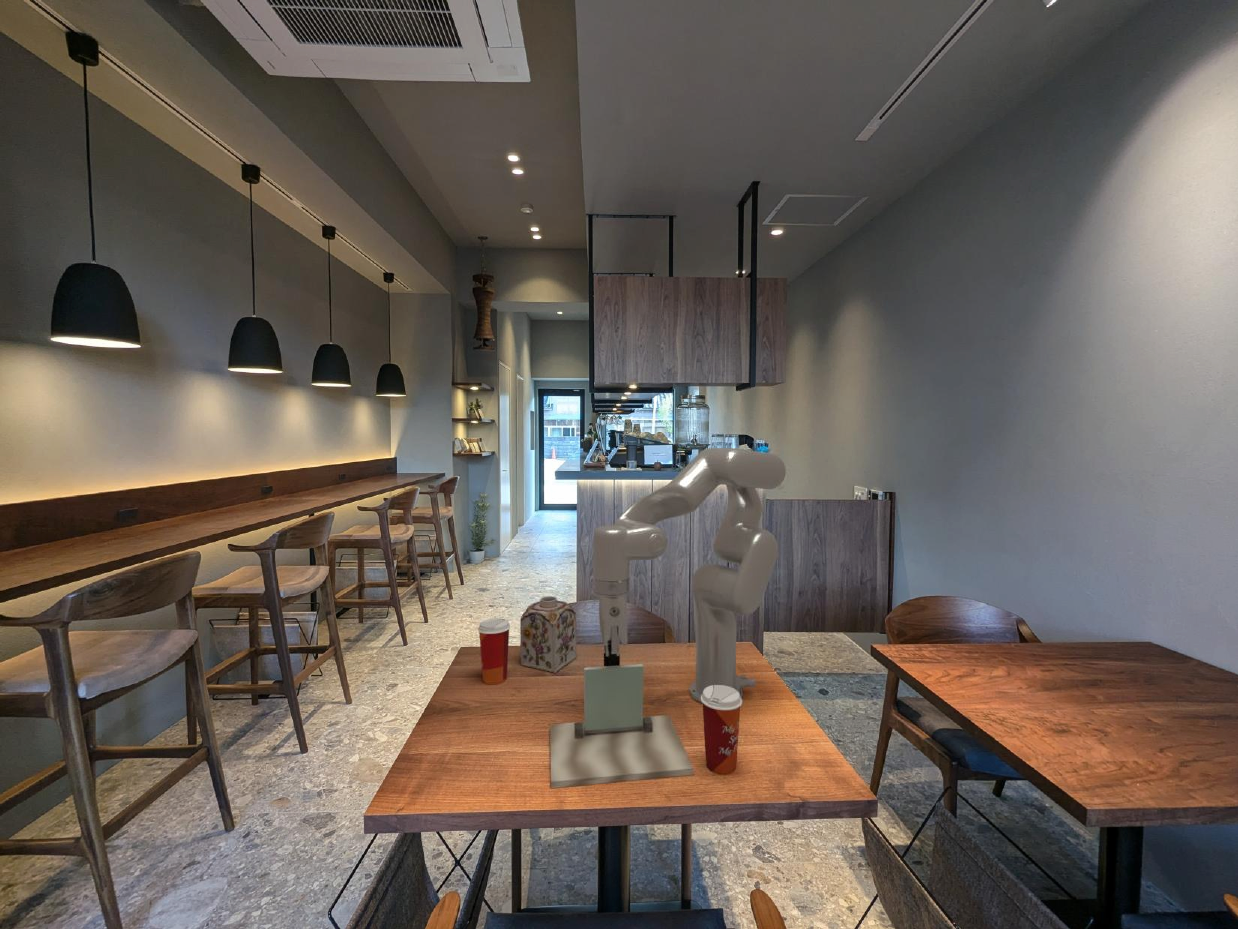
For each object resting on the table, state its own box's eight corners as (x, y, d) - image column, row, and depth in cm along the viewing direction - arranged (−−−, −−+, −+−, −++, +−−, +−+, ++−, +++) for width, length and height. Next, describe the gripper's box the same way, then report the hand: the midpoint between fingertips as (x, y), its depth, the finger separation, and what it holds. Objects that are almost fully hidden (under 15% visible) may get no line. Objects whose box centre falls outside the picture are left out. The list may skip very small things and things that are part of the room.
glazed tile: (641, 727, 109) (642, 663, 108) (642, 730, 108) (643, 666, 107) (584, 731, 108) (584, 667, 106) (584, 735, 106) (584, 670, 105)
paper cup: (733, 783, 93) (733, 707, 93) (693, 769, 97) (694, 696, 97) (747, 761, 100) (748, 689, 99) (709, 748, 104) (710, 679, 103)
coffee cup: (496, 670, 141) (495, 615, 140) (517, 677, 136) (517, 621, 135) (471, 681, 134) (470, 624, 133) (492, 690, 129) (491, 630, 128)
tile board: (669, 720, 115) (669, 706, 114) (693, 774, 96) (693, 757, 96) (550, 730, 111) (549, 715, 111) (550, 788, 92) (550, 770, 92)
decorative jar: (543, 650, 154) (543, 590, 153) (577, 657, 148) (577, 595, 148) (519, 666, 143) (518, 601, 142) (554, 674, 138) (554, 607, 137)
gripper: (635, 595, 101) (635, 688, 102) (624, 576, 116) (624, 657, 117) (596, 597, 100) (597, 690, 101) (590, 577, 115) (590, 659, 116)
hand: (611, 672), depth 109 cm, fingers closed
